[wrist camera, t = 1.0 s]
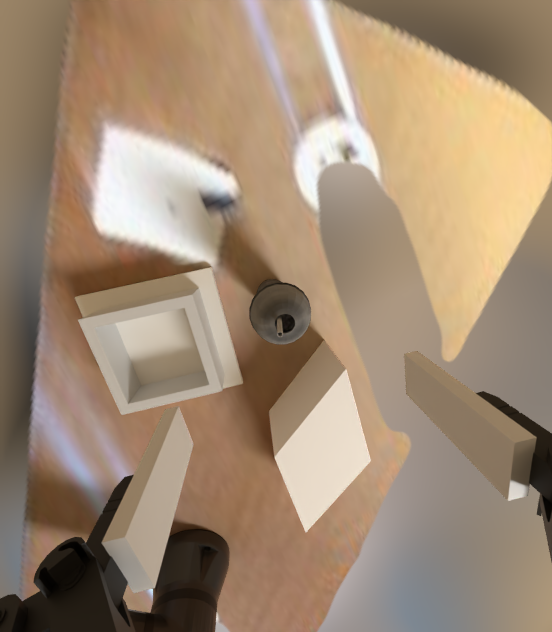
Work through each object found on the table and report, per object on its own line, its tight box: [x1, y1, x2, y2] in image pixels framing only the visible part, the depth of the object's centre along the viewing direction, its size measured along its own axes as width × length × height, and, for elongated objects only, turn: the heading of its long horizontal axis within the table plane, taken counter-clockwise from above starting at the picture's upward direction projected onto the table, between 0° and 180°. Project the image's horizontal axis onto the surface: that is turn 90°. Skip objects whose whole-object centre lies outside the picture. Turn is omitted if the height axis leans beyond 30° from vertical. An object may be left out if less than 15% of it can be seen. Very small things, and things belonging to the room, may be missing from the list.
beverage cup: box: [250, 279, 311, 344], centre depth 32 cm, size 7×7×20 cm
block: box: [269, 340, 371, 532], centre depth 44 cm, size 15×30×11 cm, turn 171°
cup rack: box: [74, 267, 243, 415], centre depth 39 cm, size 20×20×6 cm
